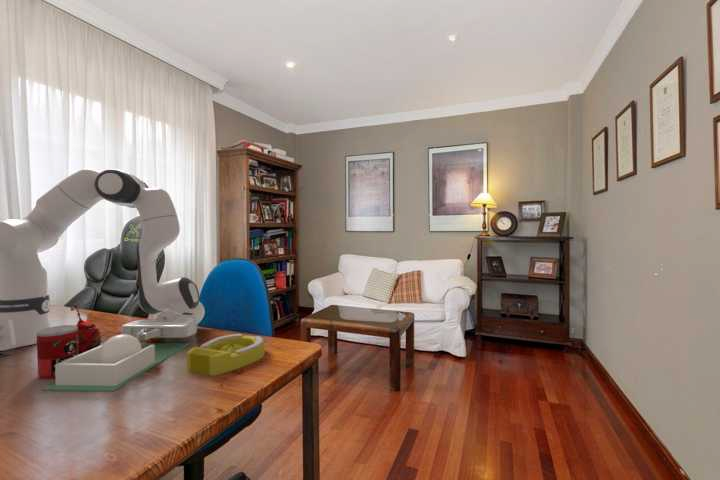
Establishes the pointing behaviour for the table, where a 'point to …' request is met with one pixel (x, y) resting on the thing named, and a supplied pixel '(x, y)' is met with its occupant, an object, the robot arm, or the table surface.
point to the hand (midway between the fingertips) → (141, 336)
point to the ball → (118, 348)
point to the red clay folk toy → (87, 334)
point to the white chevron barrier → (101, 368)
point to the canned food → (55, 348)
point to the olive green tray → (225, 354)
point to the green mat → (160, 354)
